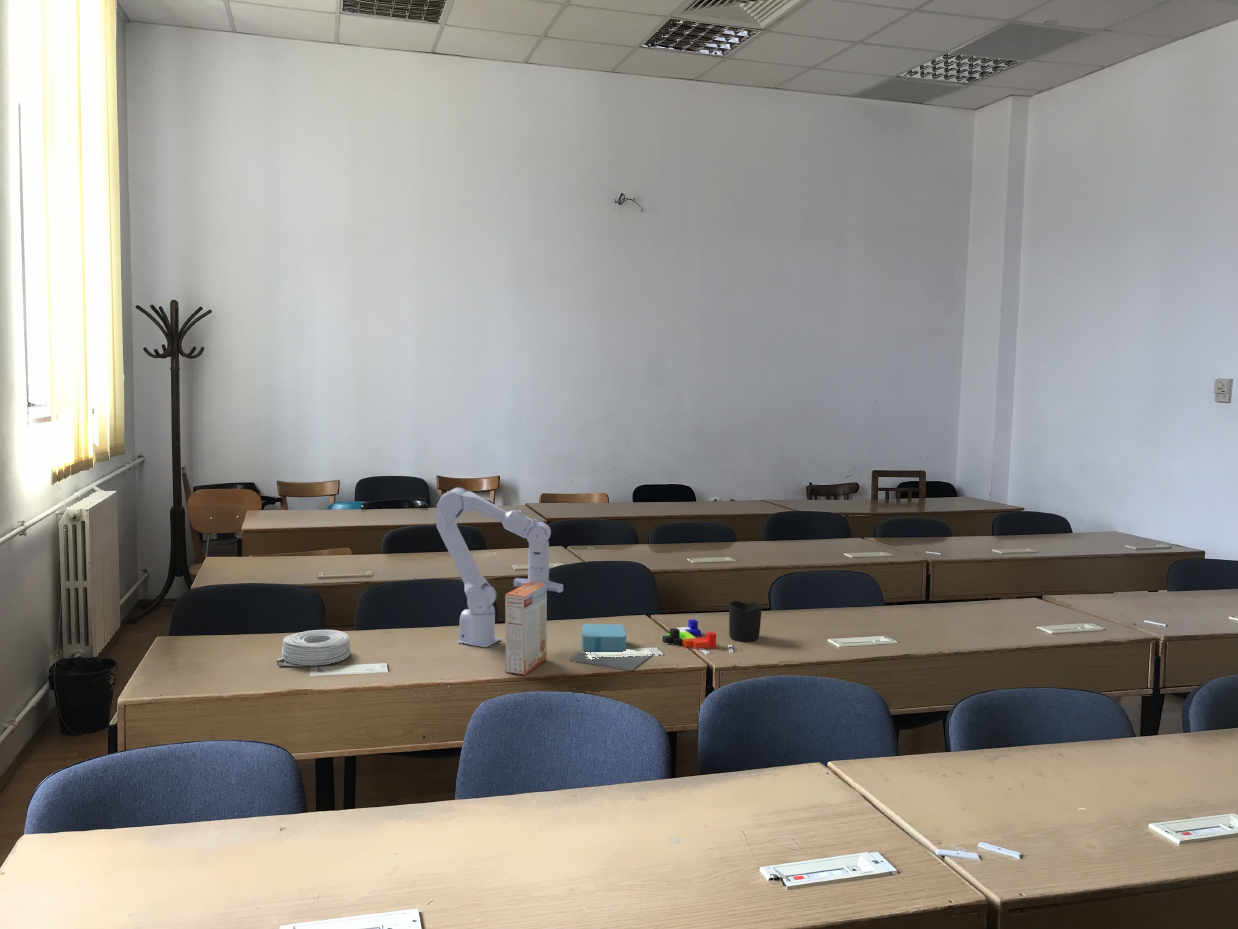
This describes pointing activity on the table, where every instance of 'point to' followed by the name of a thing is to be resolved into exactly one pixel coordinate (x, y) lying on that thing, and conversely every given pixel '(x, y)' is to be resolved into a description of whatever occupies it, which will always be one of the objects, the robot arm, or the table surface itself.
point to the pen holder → (744, 621)
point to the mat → (612, 661)
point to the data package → (603, 638)
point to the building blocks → (690, 636)
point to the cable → (315, 648)
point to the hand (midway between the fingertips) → (537, 614)
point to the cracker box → (526, 627)
